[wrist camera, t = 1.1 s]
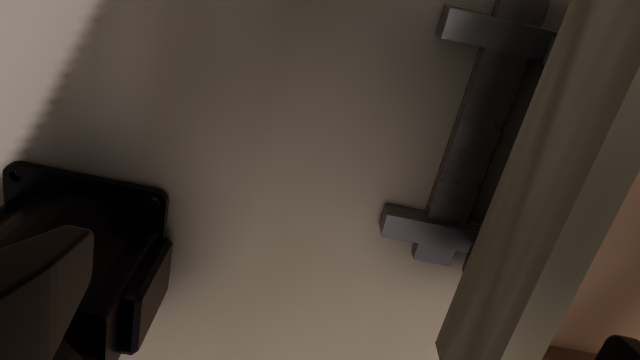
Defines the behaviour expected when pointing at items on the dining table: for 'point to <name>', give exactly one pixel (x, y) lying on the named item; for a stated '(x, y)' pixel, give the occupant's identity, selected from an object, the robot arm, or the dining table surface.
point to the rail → (472, 124)
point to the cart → (562, 207)
